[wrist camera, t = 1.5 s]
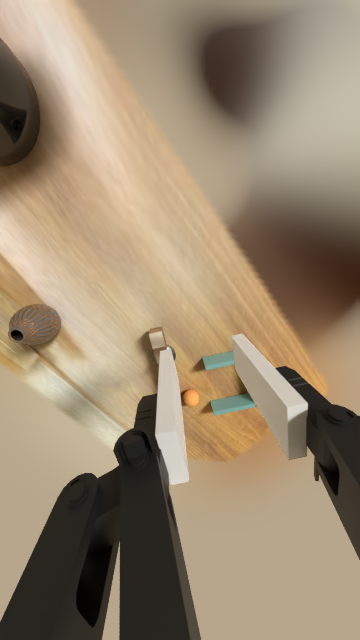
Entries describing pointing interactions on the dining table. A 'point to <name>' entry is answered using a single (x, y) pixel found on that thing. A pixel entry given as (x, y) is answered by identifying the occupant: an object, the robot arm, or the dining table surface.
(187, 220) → the dining table surface
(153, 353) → the pivot base
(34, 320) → the vase
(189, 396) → the ball
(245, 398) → the teal arch
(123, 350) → the dining table surface
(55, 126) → the dining table surface
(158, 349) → the lever
